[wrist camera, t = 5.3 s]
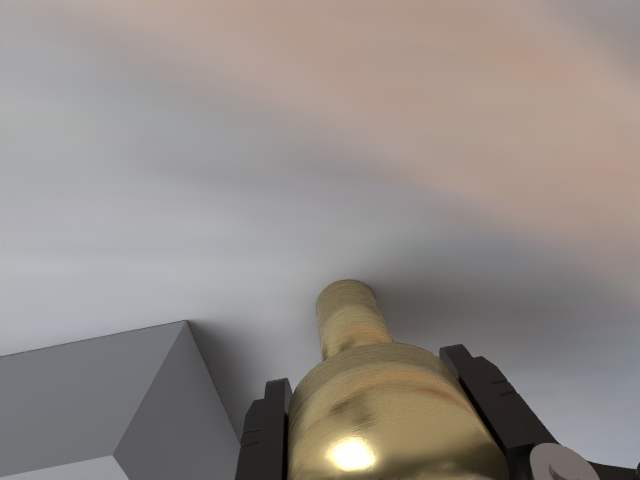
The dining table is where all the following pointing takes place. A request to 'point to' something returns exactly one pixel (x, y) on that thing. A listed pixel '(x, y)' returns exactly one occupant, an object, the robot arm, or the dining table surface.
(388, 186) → the dining table surface
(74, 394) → the slate block
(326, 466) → the brass knob
